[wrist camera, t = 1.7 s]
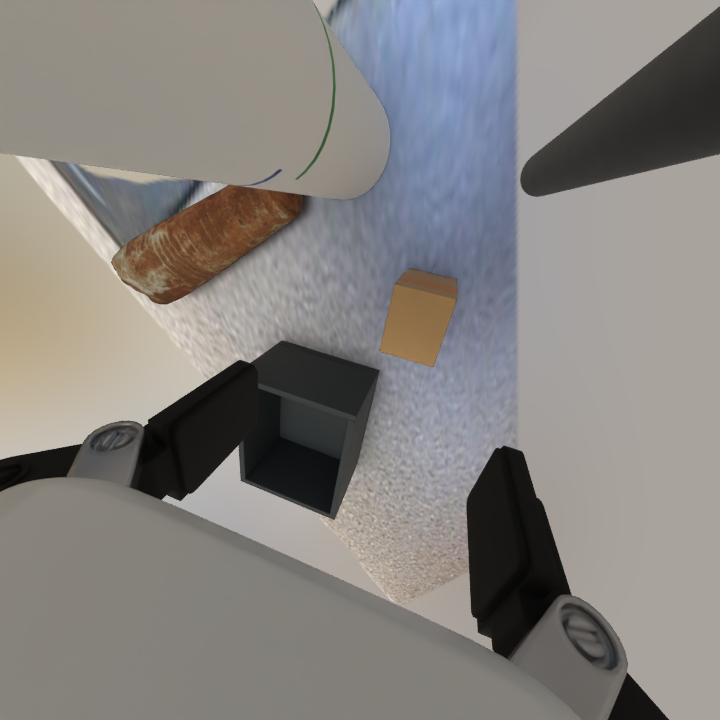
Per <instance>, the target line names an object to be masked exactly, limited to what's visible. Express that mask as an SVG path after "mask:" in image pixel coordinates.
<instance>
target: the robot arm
mask: <svg viewBox="0 0 720 720" xmlns="http://www.w3.org/2000/svg"><path fill="white" fill-rule="evenodd" d="M258 419H259V418H258V370H257V369H255V366H254V365H253V364H251V363H248V362H245V361H242V360H239V361H237V362H235V363H234V364H232V365H231V366H229V367H228V368H226V369H225V370H223V371H222V372H220V373H219V374H217V375H216V376H214V377H213V378H211V379H210V380H208V381H206V382H205V383H203V384H202V385H200V386H199V387H197V388H196V389H195V390H193V391H191V392H190V393H188V394H187V395H185V396H184V397H182V398H181V399H179V400H178V401H176V402H175V403H173V404H172V405H170V406H169V407H167V408H166V409H164V410H163V411H161V412H159V413H158V414H157V415H155V416H153V417H152V418H150V419H149V420H148V424H147V425H145V426H144V427H143V426H142V425H141V424H139V423H137V422H134V421H119V422H114V423H110V424H107V425H105V426H102V427H101V428H98V429H96V430H95V431H93V432H92V433H91V434H90V435H88V437H87V438H86V439H85V440H84V442H83V444H79V445H73V446H68V447H63V448H57V449H52V450H46V451H41V452H36V453H30V454H25V455H19V456H14V457H9V458H6V459H2V460H0V720H669V719H668V718H667V717H666V716H665V715H664V714H663V712H662V711H661V710H660V709H659V708H658V707H657V706H656V704H655V703H654V702H653V701H652V700H651V699H650V698H649V697H648V695H647V694H646V693H645V692H644V691H643V690H642V689H641V687H640V686H639V685H638V684H637V683H636V682H635V681H634V680H633V678H632V677H631V676H630V675H629V674H628V673H627V667H628V663H627V658H626V653H625V650H624V648H623V646H622V643H621V642H620V639H619V637H618V636H617V634H616V633H615V631H614V630H613V628H612V627H611V625H610V624H609V623H608V622H607V620H606V619H605V618H604V617H603V616H602V615H601V614H600V613H599V612H598V611H597V610H596V609H595V608H594V607H592V606H591V605H590V604H589V603H587V602H585V601H584V600H582V599H580V598H579V597H576V596H572V595H571V592H570V589H569V585H568V582H567V579H566V576H565V573H564V569H563V566H562V563H561V560H560V557H559V554H558V550H557V547H556V544H555V541H554V538H553V534H552V531H551V528H550V525H549V521H548V518H547V515H546V512H545V509H544V506H543V504H542V502H541V501H540V500H539V499H538V498H536V494H535V491H534V488H533V484H532V481H531V477H530V474H529V470H528V467H527V464H526V460H525V457H524V454H523V452H522V451H519V450H516V449H513V448H510V447H507V446H503V447H502V448H501V449H499V448H496V449H495V450H494V452H493V454H492V455H491V457H490V459H489V461H488V462H487V464H486V466H485V468H484V469H483V471H482V473H481V475H480V476H479V478H478V480H477V482H476V484H475V485H474V487H473V489H472V491H471V492H470V494H469V496H468V499H467V528H468V551H469V573H470V594H471V612H472V615H473V617H475V618H477V624H478V633H480V634H482V635H485V636H487V637H489V638H491V639H492V647H493V650H494V652H493V651H491V650H489V649H488V648H485V647H484V646H482V645H480V644H478V643H476V642H474V641H473V640H471V639H469V638H466V637H464V636H462V635H460V634H458V633H456V632H454V631H452V630H450V629H447V628H445V627H443V626H441V625H439V624H437V623H435V622H432V621H430V620H429V619H426V618H424V617H422V616H420V615H418V614H416V613H414V612H412V611H409V610H407V609H405V608H403V607H401V606H398V605H396V604H394V603H391V602H389V601H387V600H385V599H383V598H380V597H378V596H376V595H374V594H372V593H370V592H367V591H365V590H363V589H361V588H359V587H356V586H354V585H352V584H350V583H348V582H345V581H343V580H340V579H339V578H337V577H334V576H332V575H330V574H328V573H325V572H323V571H321V570H319V569H316V568H314V567H312V566H309V565H307V564H305V563H303V562H301V561H299V560H296V559H294V558H292V557H290V556H287V555H285V554H283V553H280V552H278V551H276V550H274V549H271V548H269V547H267V546H265V545H263V544H260V543H258V542H256V541H253V540H252V539H249V538H247V537H245V536H243V535H240V534H238V533H236V532H233V531H231V530H229V529H227V528H224V527H222V526H220V525H218V524H215V523H213V522H210V521H208V520H206V519H204V518H202V517H199V516H197V515H195V514H192V513H190V512H188V511H186V510H183V509H181V508H179V507H176V506H174V505H172V504H169V503H167V502H164V501H162V499H163V498H164V497H165V496H166V495H168V496H170V497H173V498H175V499H177V500H179V501H181V500H182V499H183V498H184V497H185V496H186V495H187V494H188V493H189V494H190V493H193V492H194V491H195V490H196V489H197V488H198V487H199V486H200V485H201V484H202V483H203V482H204V481H205V480H206V479H207V477H209V476H210V475H211V473H213V471H214V470H215V469H216V468H217V467H218V466H219V465H220V464H221V463H222V462H223V461H224V460H225V459H226V458H227V457H228V456H229V455H230V453H232V451H233V450H234V449H235V448H236V447H237V446H238V445H239V444H240V443H241V442H242V441H243V440H244V439H245V438H246V437H247V436H248V435H249V434H250V432H251V431H252V430H253V429H254V428H255V427H256V425H257V423H258Z"/></svg>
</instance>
